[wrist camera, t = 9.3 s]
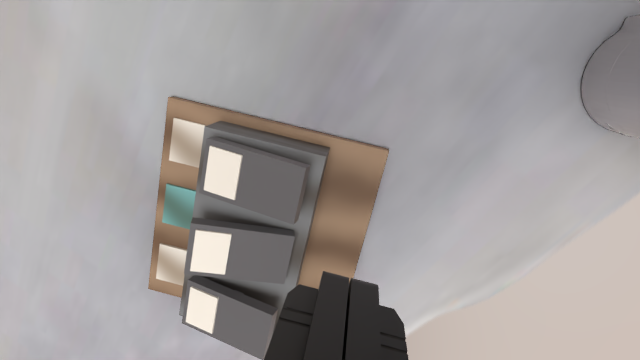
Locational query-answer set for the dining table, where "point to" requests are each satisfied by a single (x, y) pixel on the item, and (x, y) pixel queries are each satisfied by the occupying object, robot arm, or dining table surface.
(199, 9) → the dining table surface
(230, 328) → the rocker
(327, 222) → the switch panel
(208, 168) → the rocker
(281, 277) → the block
